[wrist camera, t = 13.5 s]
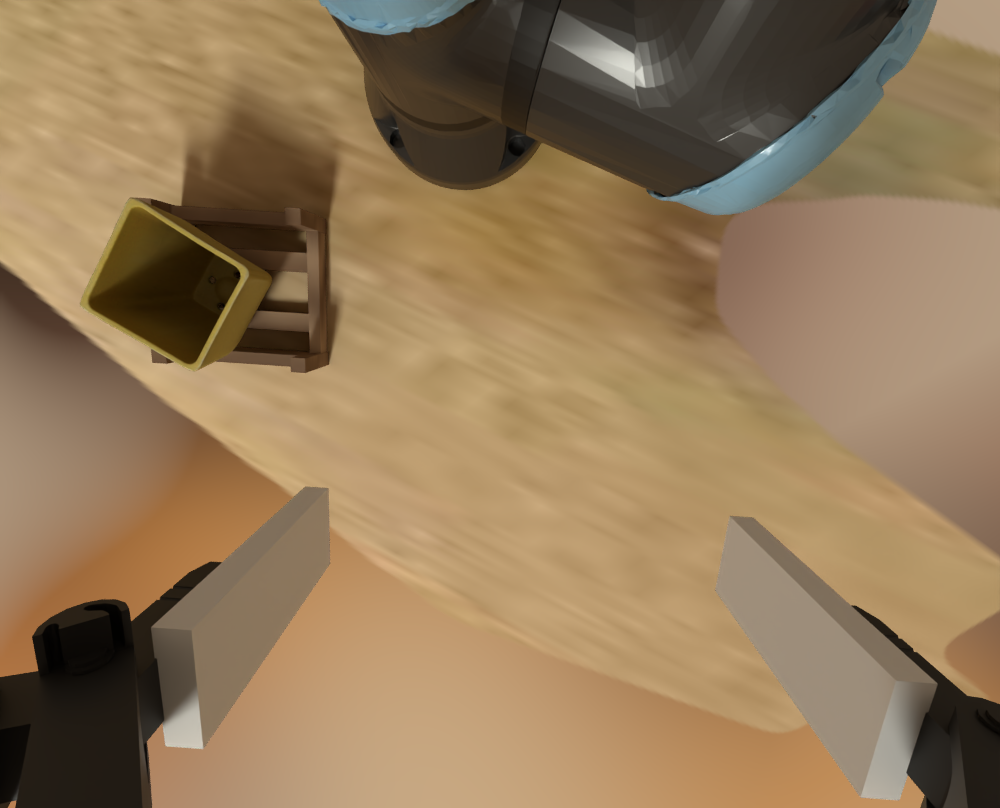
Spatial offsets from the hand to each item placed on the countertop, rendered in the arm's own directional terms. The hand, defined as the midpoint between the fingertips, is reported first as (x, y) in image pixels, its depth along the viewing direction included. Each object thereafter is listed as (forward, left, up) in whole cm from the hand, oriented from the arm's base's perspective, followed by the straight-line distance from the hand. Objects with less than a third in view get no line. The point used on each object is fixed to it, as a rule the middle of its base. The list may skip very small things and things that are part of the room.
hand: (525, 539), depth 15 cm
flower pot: (-7, -26, -28) cm, 38 cm away
